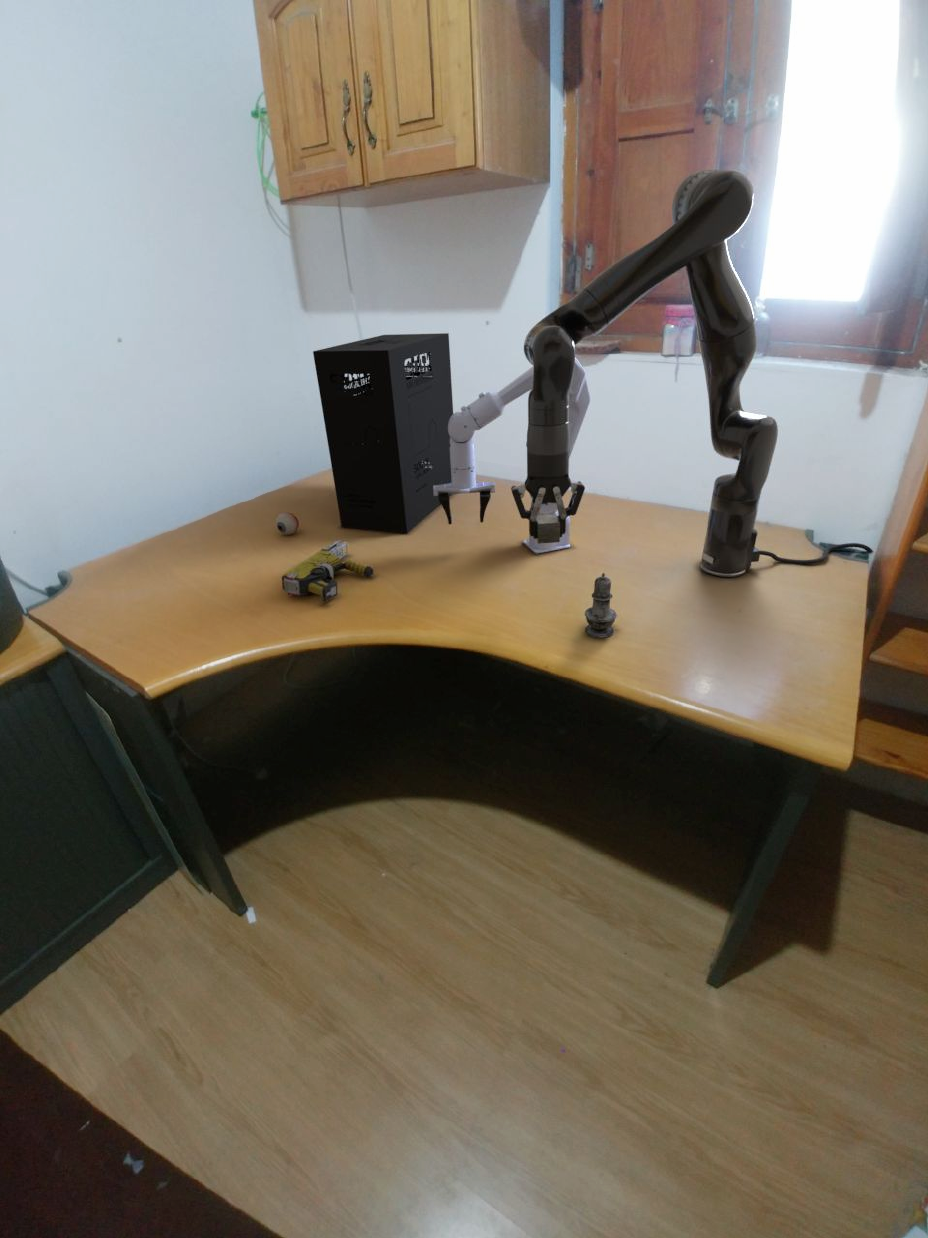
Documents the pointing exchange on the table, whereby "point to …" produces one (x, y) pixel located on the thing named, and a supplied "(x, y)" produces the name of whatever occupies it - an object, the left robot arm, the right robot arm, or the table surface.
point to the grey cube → (548, 529)
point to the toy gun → (321, 572)
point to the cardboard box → (387, 427)
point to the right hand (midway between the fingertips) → (547, 536)
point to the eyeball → (287, 523)
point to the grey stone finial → (600, 610)
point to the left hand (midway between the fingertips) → (465, 521)
